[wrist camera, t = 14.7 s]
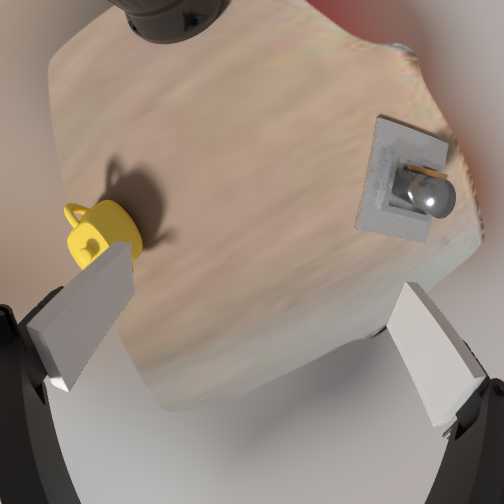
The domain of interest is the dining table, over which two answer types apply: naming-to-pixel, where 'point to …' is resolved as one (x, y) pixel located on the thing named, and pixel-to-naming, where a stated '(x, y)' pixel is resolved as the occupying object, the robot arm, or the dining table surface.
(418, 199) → the grey rounded cylinder
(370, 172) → the collar
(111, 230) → the teapot
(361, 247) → the dining table surface
